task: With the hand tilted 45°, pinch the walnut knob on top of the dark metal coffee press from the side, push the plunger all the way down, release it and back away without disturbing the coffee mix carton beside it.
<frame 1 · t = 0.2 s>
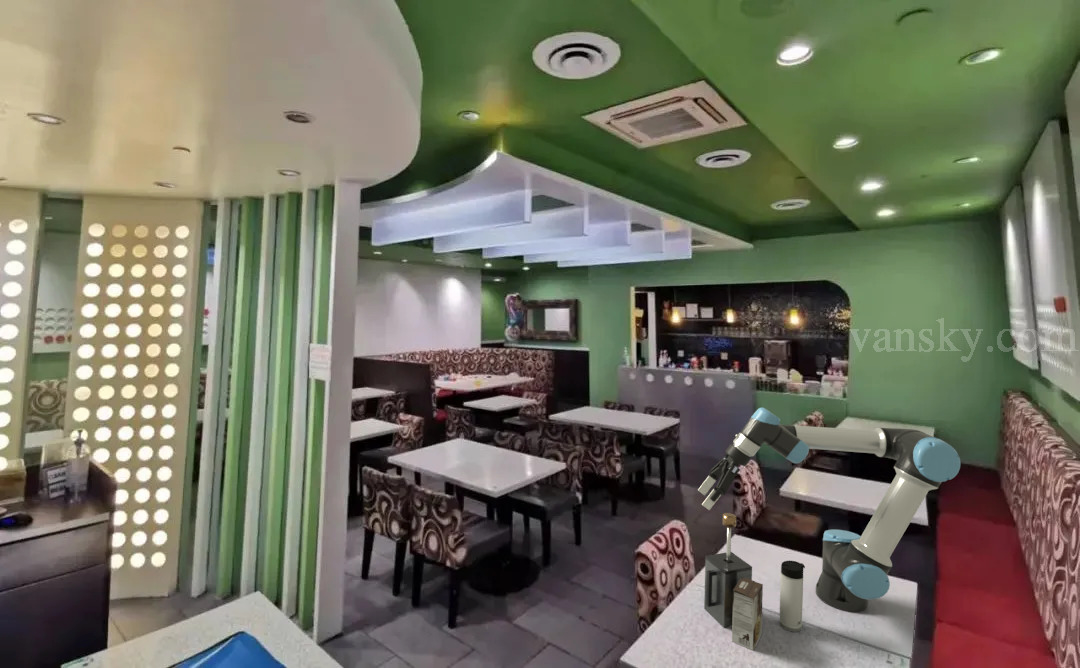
hand: (703, 499, 162), 35 cm above the table, tool tilted 35°, fingers open, 13 cm apart
plunger: (728, 551, 156), point 21 cm above the table, slide at 7.0 cm
coffee box: (746, 639, 146), on the table
press pot: (726, 615, 157), on the table
travel mug: (790, 626, 152), on the table
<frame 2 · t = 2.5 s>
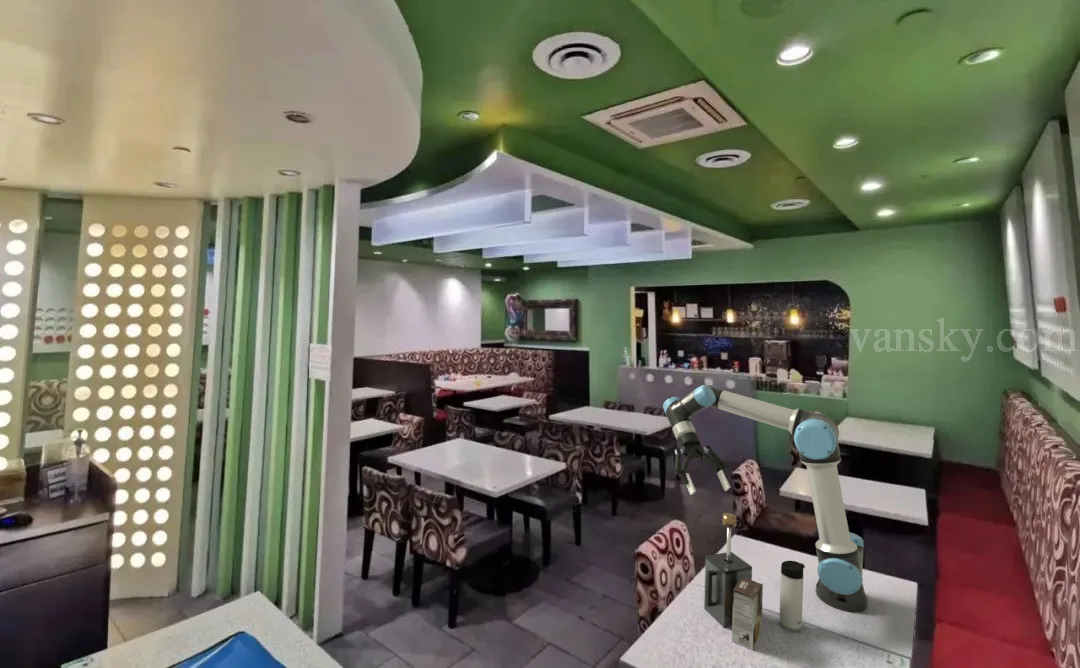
hand: (710, 491, 164), 38 cm above the table, tool tilted 45°, fingers open, 13 cm apart
nothing on the table moved.
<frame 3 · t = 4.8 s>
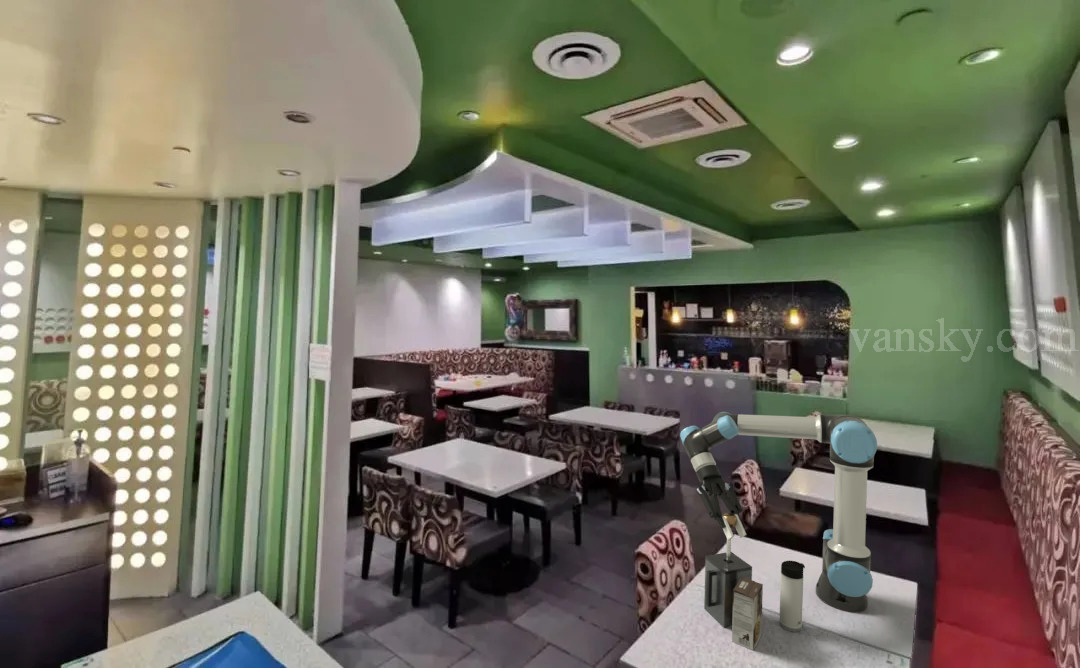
hand: (737, 537, 152), 28 cm above the table, tool tilted 45°, fingers closed on plunger, 4 cm apart
plunger: (728, 551, 156), point 21 cm above the table, slide at 7.0 cm, touching gripper
everything else where it was.
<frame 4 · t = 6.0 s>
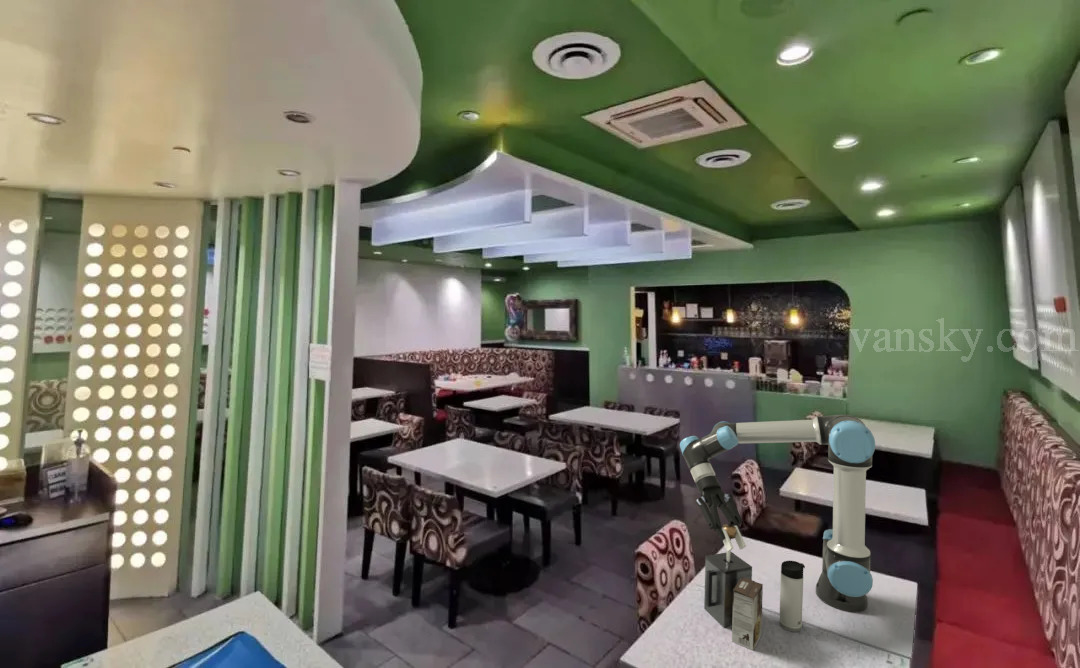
hand: (736, 548, 152), 24 cm above the table, tool tilted 45°, fingers closed on plunger, 4 cm apart
plunger: (728, 562, 156), point 17 cm above the table, slide at 3.3 cm, touching gripper
everything else where it was.
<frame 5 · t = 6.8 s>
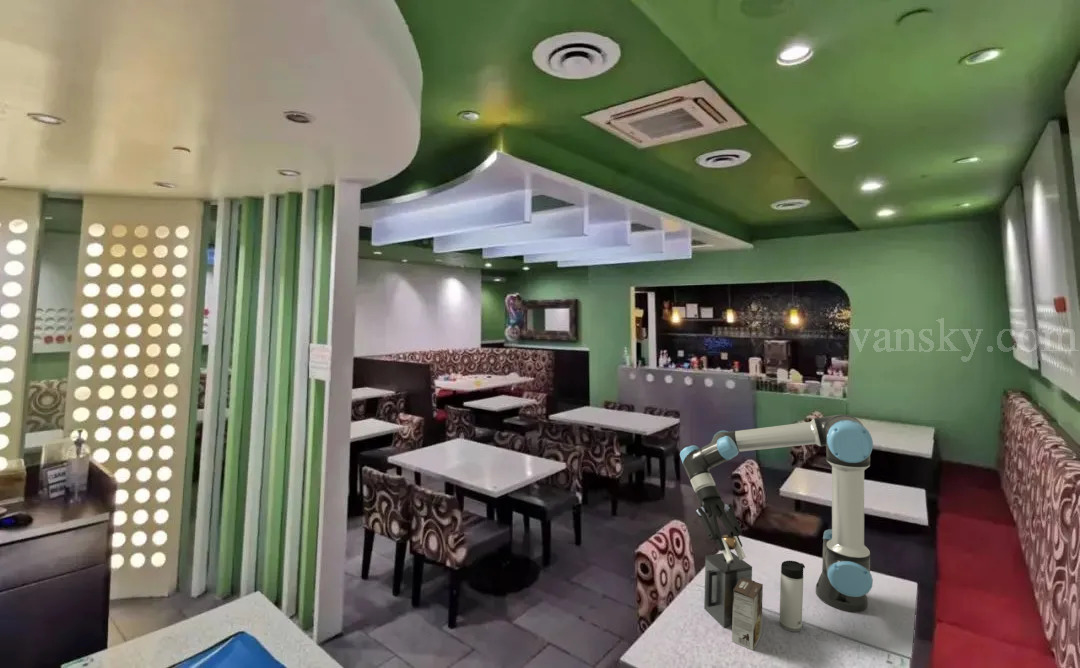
hand: (736, 559, 152), 20 cm above the table, tool tilted 45°, fingers closed on plunger, 4 cm apart
plunger: (728, 573, 156), point 14 cm above the table, slide at -0.2 cm, touching gripper
everything else where it was.
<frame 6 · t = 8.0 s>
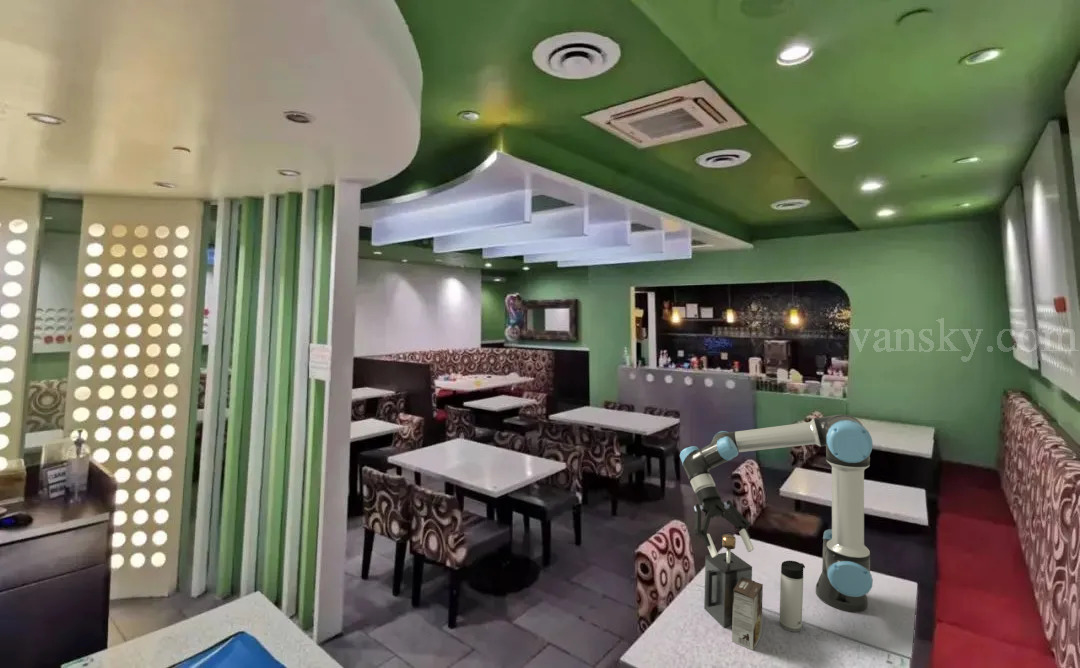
hand: (733, 553, 153), 22 cm above the table, tool tilted 45°, fingers open, 13 cm apart
plunger: (728, 573, 156), point 14 cm above the table, slide at -0.1 cm
everything else where it was.
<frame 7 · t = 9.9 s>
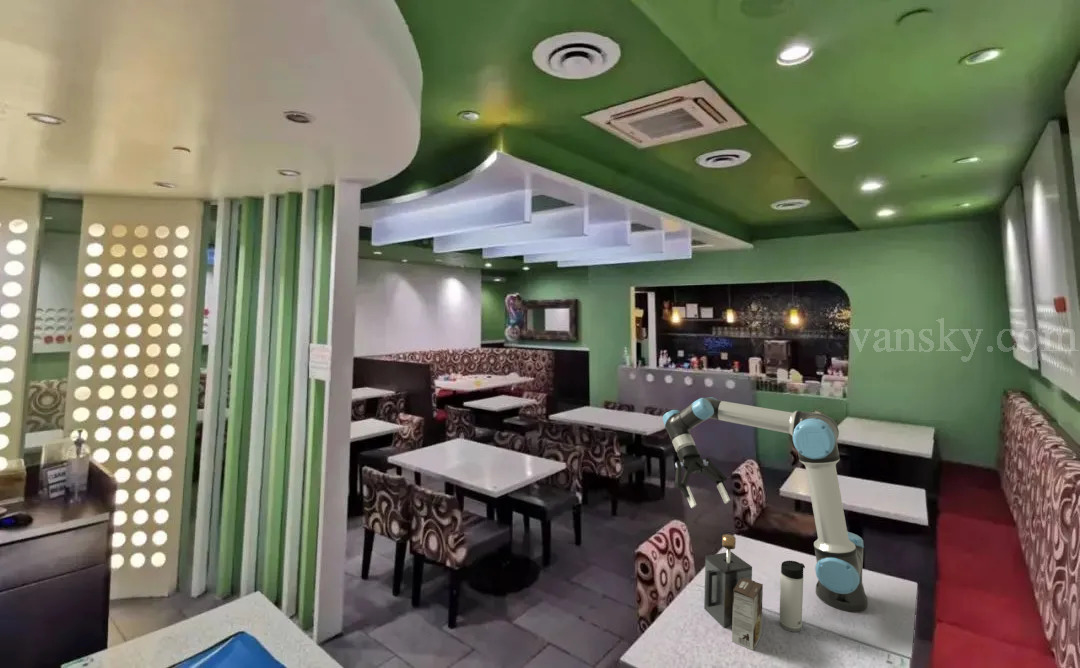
hand: (710, 504, 166), 32 cm above the table, tool tilted 45°, fingers open, 13 cm apart
nothing on the table moved.
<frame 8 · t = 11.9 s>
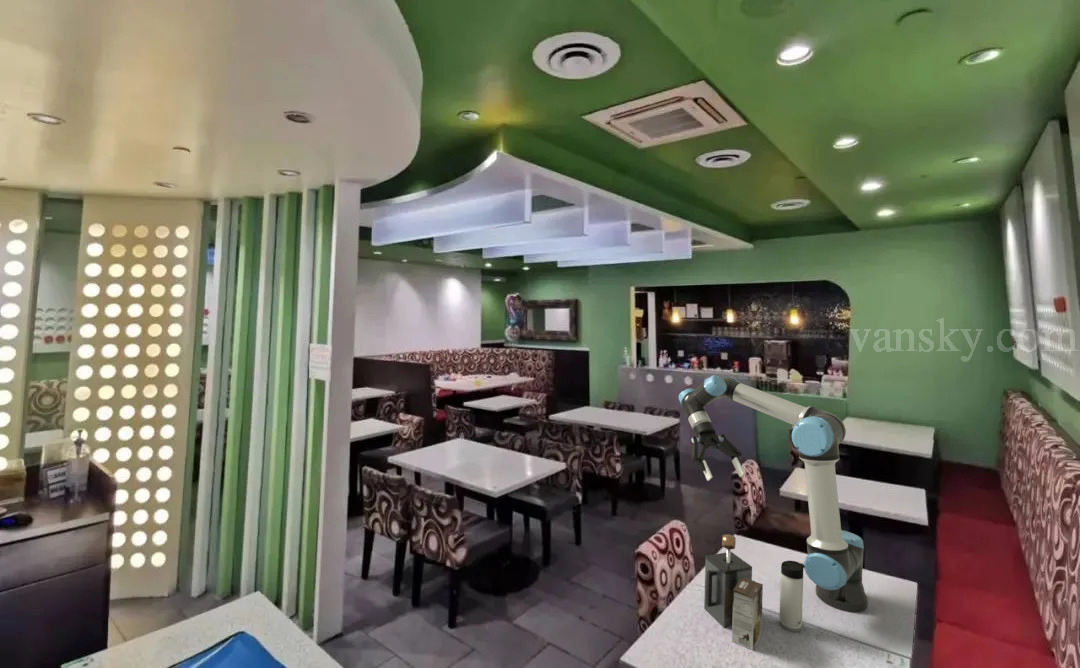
hand: (726, 477, 172), 40 cm above the table, tool tilted 45°, fingers open, 13 cm apart
nothing on the table moved.
at the end: plunger slide at -0.1 cm; the gripper is holding nothing; coffee box moved 0.2 cm from its start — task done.
